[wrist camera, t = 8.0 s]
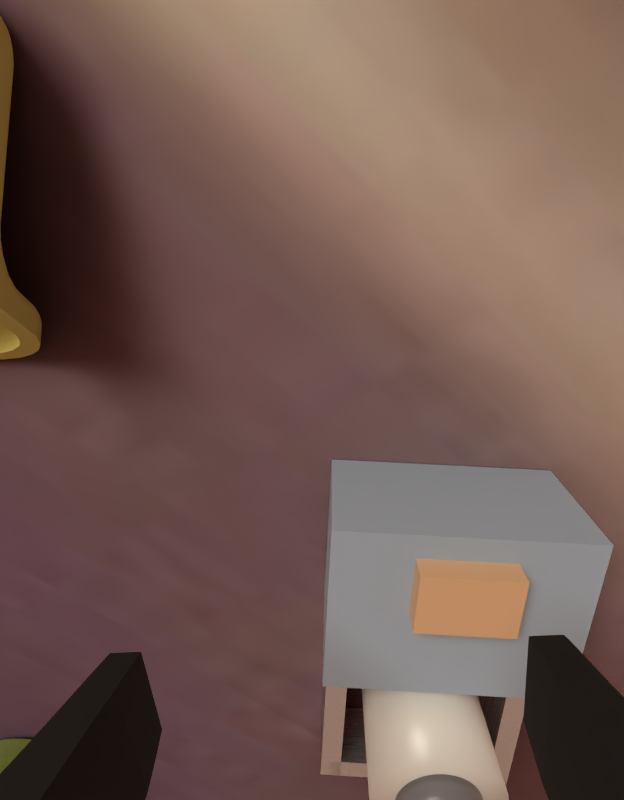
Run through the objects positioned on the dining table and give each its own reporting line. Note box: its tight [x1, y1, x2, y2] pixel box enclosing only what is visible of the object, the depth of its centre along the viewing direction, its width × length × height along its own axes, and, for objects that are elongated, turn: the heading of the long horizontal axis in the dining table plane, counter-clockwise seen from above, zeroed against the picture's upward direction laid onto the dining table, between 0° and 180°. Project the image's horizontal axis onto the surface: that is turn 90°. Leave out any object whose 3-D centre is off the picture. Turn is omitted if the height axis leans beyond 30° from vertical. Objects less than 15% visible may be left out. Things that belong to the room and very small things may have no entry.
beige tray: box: [321, 686, 525, 785], centre depth 21 cm, size 8×8×2 cm
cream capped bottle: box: [362, 689, 509, 800], centre depth 19 cm, size 4×4×7 cm
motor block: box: [322, 460, 614, 698], centre depth 17 cm, size 8×6×5 cm
